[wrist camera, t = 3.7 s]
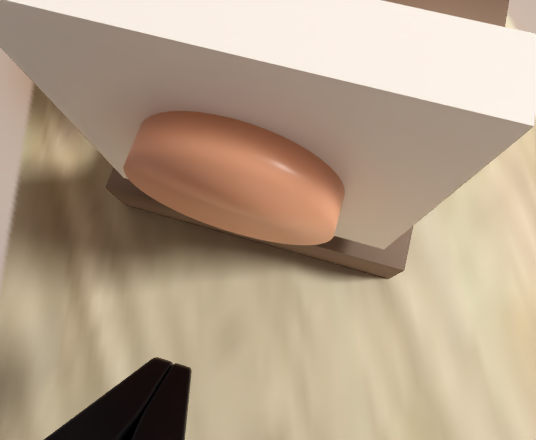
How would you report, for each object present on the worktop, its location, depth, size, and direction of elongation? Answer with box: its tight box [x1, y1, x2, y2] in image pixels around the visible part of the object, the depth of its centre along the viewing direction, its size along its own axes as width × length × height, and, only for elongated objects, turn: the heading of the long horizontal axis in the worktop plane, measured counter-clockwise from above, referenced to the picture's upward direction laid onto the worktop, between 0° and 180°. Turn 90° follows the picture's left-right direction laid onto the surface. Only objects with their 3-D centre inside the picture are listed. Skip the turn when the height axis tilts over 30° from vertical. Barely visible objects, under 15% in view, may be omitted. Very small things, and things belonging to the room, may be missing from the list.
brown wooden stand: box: [106, 0, 509, 279], centre depth 14 cm, size 8×11×7 cm
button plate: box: [0, 0, 536, 249], centre depth 10 cm, size 2×9×8 cm, turn 74°
